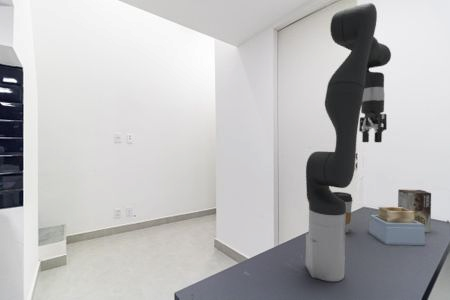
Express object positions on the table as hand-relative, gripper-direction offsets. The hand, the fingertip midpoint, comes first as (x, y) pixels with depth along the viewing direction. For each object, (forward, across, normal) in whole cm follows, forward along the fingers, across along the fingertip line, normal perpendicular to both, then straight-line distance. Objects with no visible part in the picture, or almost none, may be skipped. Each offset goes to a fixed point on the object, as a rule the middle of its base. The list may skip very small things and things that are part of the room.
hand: (371, 142), depth 92 cm
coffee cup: (+36, -2, -10) cm, 38 cm away
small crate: (+30, +5, +7) cm, 31 cm away
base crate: (+36, +5, +7) cm, 37 cm away
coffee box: (+36, -5, +21) cm, 42 cm away
